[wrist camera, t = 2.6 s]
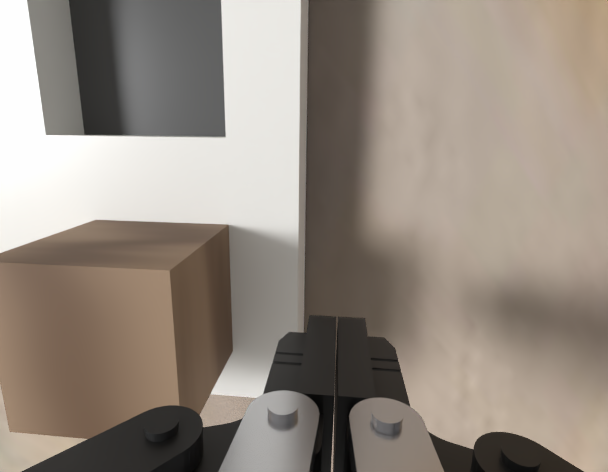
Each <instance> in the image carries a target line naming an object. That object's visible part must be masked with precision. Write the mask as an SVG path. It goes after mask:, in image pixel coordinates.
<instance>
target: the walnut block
mask: <svg viewBox="0 0 608 472" xmlns="http://www.w3.org/2000/svg"><path fill="white" fill-rule="evenodd" d="M232 352H233V339H232V309H231V279H230V250H229V225H228V224H200V223H173V222H145V221H117V220H93V221H91V222H88V223H85V224H82V225H79V226H76V227H73V228H71V229H68V230H65V231H62V232H59V233H56V234H53V235H50V236H48V237H45V238H42V239H39V240H36V241H33V242H30V243H28V244H25V245H22V246H19V247H16V248H13V249H10V250H8V251H5V252H2V253H0V384H1V389H2V394H3V400H4V405H5V410H6V415H7V420H8V425H9V430H10V432H19V433H30V434H41V435H52V436H63V437H74V438H85V439H90V438H92V437H94V436H96V435H98V434H100V433H102V432H104V431H106V430H108V429H110V428H112V427H114V426H116V425H118V424H120V423H123V422H125V421H127V420H129V419H131V418H133V417H135V416H137V415H139V414H141V413H143V412H145V411H148V410H150V409H153V408H156V407H161V406H169V405H177V406H184V407H188V408H190V409H192V410H194V411H195V412H197V413H198V414H199V415H200V413H201V411H202V409H203V407H204V405H205V403H206V401H207V400H208V398H209V396H210V394H211V392H212V390H213V388H214V386H215V384H216V382H217V380H218V378H219V377H220V375H221V373H222V371H223V369H224V367H225V365H226V363H227V361H228V359H229V357H230V356H231V354H232Z"/></svg>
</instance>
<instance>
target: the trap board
mask: <svg viewBox="0 0 608 472" xmlns="http://www.w3.org/2000/svg"><path fill="white" fill-rule="evenodd" d="M308 5H309V0H0V253H2V252H5V251H8V250H10V249H13V248H16V247H19V246H22V245H25V244H28V243H30V242H33V241H36V240H39V239H42V238H45V237H48V236H50V235H53V234H56V233H59V232H62V231H65V230H68V229H71V228H73V227H76V226H79V225H82V224H85V223H88V222H91V221H93V220H117V221H145V222H173V223H200V224H228V225H229V250H230V279H231V309H232V339H233V352H232V354H231V356H230V357H229V359H228V361H227V363H226V365H225V367H224V369H223V371H222V373H221V375H220V377H219V378H218V380H217V382H216V384H215V386H214V388H213V390H212V392H211V394H215V395H227V396H240V397H253V398H257V397H259V396H261V395H263V392H264V389H265V385H266V382H267V379H268V375H269V372H270V369H271V365H272V363H273V358H274V355H275V352H276V348H277V345H278V342H279V340H280V339H281V338H283V337H284V336H285V335H286V334H287V333H288V332H301V333H304V289H305V218H306V147H307V76H308Z"/></svg>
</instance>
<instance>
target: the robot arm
mask: <svg viewBox="0 0 608 472" xmlns="http://www.w3.org/2000/svg"><path fill="white" fill-rule="evenodd" d="M335 340H336V317H332V316H316V315H310V316H309V322H308V328H307V333H301V332H288V333H287V334H286V335H285V336H284V337H283V338H281V339H280V340H279V342H278V345H277V348H276V352H275V355H274V358H273V363H272V365H271V369H270V372H269V375H268V379H267V382H266V385H265V389H264V392H263V395H261V396H259V397H257V398H256V399H255V400H253V401H252V402H251V403H250V405H249V406H248V408H247V410H246V412H245V415H244V417H243V418H242V419H240V420H238V421H235V422H232V423H228V424H223V425H216V426H210V427H203V423H202V419H201V417H200V416H199V414H198V413H197V412H195V411H194V410H192V409H190V408H188V407H184V406H177V405H169V406H161V407H156V408H153V409H150V410H148V411H145V412H143V413H141V414H139V415H137V416H135V417H133V418H131V419H129V420H127V421H125V422H123V423H120V424H118V425H116V426H114V427H112V428H110V429H108V430H106V431H104V432H102V433H100V434H98V435H96V436H94V437H92V438H90V439H88V440H86V441H84V442H81V443H79V444H77V445H75V446H73V447H71V448H69V449H67V450H65V451H63V452H61V453H59V454H57V455H55V456H53V457H51V458H49V459H47V460H44V461H42V462H40V463H38V464H36V465H34V466H32V467H30V468H28V469H26V470H24V471H22V472H331V454H332V434H333V414H334V455H333V472H583V471H582V470H580V469H579V468H577V467H575V466H574V465H572V464H570V463H569V462H567V461H566V460H564V459H562V458H561V457H559V456H558V455H556V454H554V453H553V452H551V451H549V450H548V449H546V448H545V447H543V446H541V445H540V444H538V443H536V442H534V441H532V440H530V439H528V438H525V437H522V436H519V435H516V434H512V433H506V432H491V433H487V434H485V435H482V436H481V437H479V438H478V439H477V441H476V442H475V445H474V450H473V449H470V448H466V447H463V446H460V445H457V444H454V443H450V442H448V441H445V440H442V439H440V438H438V437H436V436H434V435H433V434H431V433H429V432H428V431H427V428H426V426H425V423H424V421H423V419H422V417H421V416H420V415H419V414H418V413H417V412H416V411H415V410H414V409H413V408H411V407H410V404H409V400H408V396H407V392H406V388H405V384H404V381H403V377H402V373H401V369H400V365H399V362H398V358H397V354H396V350H395V348H394V347H393V346H392V345H391V344H390V343H389V342H388V341H387V340H386V339H385V338H382V337H368V336H367V329H366V322H365V318H350V317H338V330H337V350H336V370H335ZM334 390H335V402H334Z"/></svg>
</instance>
